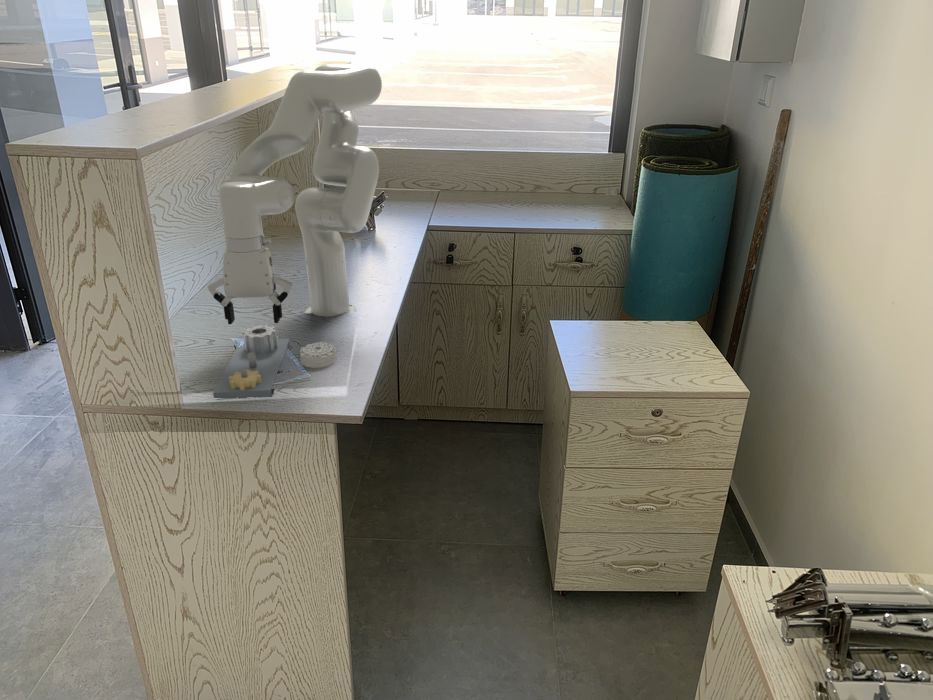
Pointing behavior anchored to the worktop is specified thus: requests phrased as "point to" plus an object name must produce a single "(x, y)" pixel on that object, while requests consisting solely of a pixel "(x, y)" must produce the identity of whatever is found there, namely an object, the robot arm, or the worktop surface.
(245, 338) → the steel gear
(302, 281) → the worktop surface
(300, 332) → the worktop surface
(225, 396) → the gear board
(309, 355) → the mechanical component
